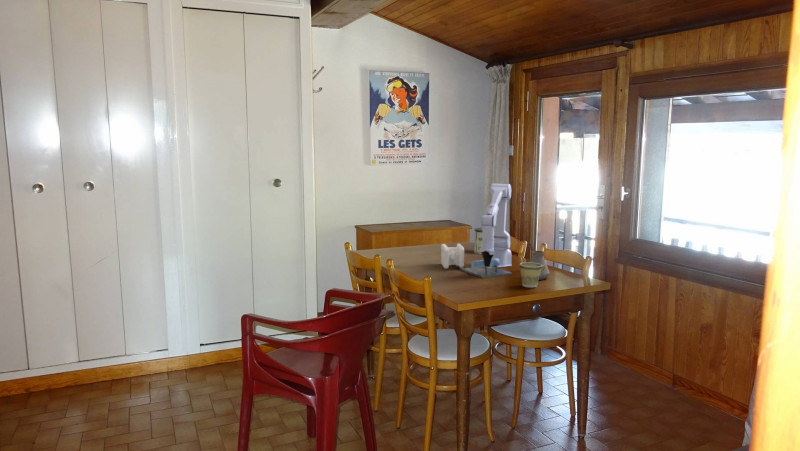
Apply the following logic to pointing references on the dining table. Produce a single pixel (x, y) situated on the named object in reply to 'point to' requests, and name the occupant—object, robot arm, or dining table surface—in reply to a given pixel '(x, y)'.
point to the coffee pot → (539, 261)
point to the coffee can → (478, 241)
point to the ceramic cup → (530, 273)
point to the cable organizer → (452, 256)
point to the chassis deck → (487, 275)
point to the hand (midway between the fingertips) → (487, 266)
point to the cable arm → (481, 263)
